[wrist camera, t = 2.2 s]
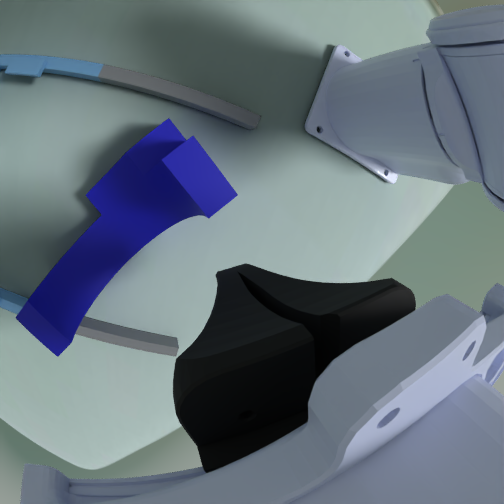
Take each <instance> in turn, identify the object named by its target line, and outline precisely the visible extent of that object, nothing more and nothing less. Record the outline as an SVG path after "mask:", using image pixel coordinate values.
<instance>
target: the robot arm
mask: <svg viewBox="0 0 504 504" xmlns="http://www.w3.org/2000/svg"><path fill="white" fill-rule="evenodd" d="M426 35H427V36H428V37H429V39H430V41H431V42H430V43H426V44H421V45H417V46H413V47H408V48H404V49H401V50H397V51H393V52H389V53H386V54H383V55H379V56H376V57H373V58H370V59H366V60H362V59H360V58H359V57H358V56H356V55H355V54H354V53H352V52H351V51H350V50H348V49H347V48H345V47H344V46H342V45H337V46H335V47H334V49H333V52H332V54H331V57H330V60H329V62H328V65H327V67H326V70H325V73H324V75H323V78H322V81H321V83H320V86H319V88H318V91H317V94H316V96H315V99H314V102H313V104H312V107H311V109H310V112H309V115H308V117H307V120H306V122H305V129H306V131H307V132H308V133H310V134H311V135H313V136H315V137H317V138H319V139H320V140H322V141H324V142H326V143H327V144H329V145H331V146H332V147H334V148H336V149H338V150H339V151H341V152H343V153H344V154H346V155H347V156H349V157H351V158H352V159H354V160H355V161H357V162H359V163H360V164H362V165H363V166H365V167H366V168H368V169H369V170H371V171H372V172H374V173H375V174H377V175H378V176H380V177H381V178H382V179H384V180H385V181H387V182H388V183H390V184H394V183H395V182H396V180H397V177H398V174H401V175H406V176H412V177H418V178H423V179H428V180H433V181H438V182H442V183H447V184H462V183H465V182H468V181H474V182H479V183H482V187H483V190H484V192H485V194H486V196H487V198H488V199H489V200H490V201H491V202H492V203H493V204H494V205H495V206H496V207H497V208H498V209H500V210H501V211H503V212H504V5H488V6H480V7H474V8H468V9H463V10H459V11H454V12H451V13H448V14H444V15H441V16H438V17H435V18H433V19H431V20H430V24H429V29H428V30H427V31H426ZM344 53H346V55H347V56H346V55H345V54H344ZM317 127H319V128H320V132H319V133H318V132H317V130H316V129H317ZM384 171H385V174H384ZM216 278H217V282H218V286H217V294H216V299H215V303H214V307H213V310H212V312H211V315H210V317H209V319H208V321H207V323H206V325H205V327H204V329H203V331H202V332H201V334H200V335H199V336H198V338H197V339H196V340H195V341H194V342H193V343H192V345H191V346H190V347H188V348H187V349H186V350H185V351H184V352H183V353H182V354H181V355H180V356H179V357H178V358H177V359H176V363H175V369H174V379H173V397H174V404H175V410H176V415H177V417H178V419H179V422H180V423H181V425H182V426H183V428H184V429H185V430H186V432H187V433H188V435H189V436H190V437H191V439H192V440H193V441H194V443H195V444H196V445H197V447H198V451H199V455H200V459H201V462H202V465H203V466H202V467H198V468H194V469H188V470H183V471H178V472H172V473H166V474H159V475H151V476H143V477H132V478H117V479H69V478H67V477H66V476H65V475H64V474H63V473H62V472H60V471H59V470H57V469H55V468H53V467H50V466H46V465H36V464H25V465H24V471H23V479H22V489H21V503H20V504H504V396H503V395H502V394H501V393H500V392H498V391H497V390H496V389H495V388H494V387H492V386H493V385H494V383H495V382H496V380H497V379H498V377H499V376H500V374H501V373H502V372H503V370H504V286H502V285H500V284H498V283H496V284H495V285H494V286H493V287H492V288H491V289H490V290H489V291H488V293H487V294H486V296H485V298H484V301H483V305H482V310H481V311H480V312H477V311H476V310H474V309H473V308H471V307H469V306H467V305H466V304H464V303H462V302H461V301H459V300H457V299H456V298H454V297H452V296H450V295H449V294H445V295H442V296H438V297H436V298H433V299H432V300H430V301H429V302H427V303H426V304H424V305H423V306H421V307H419V308H418V309H416V310H415V307H416V302H415V297H414V294H413V292H412V291H411V290H410V289H409V288H407V287H406V286H404V285H402V284H401V283H399V282H398V281H396V280H394V279H392V278H390V279H383V280H376V281H370V282H359V283H322V282H313V281H306V280H300V279H295V278H291V277H287V276H283V275H279V274H276V273H273V272H270V271H267V270H264V269H261V268H258V267H255V266H253V265H250V264H242V265H239V266H236V267H232V268H229V269H225V270H222V271H218V272H217V274H216Z"/></svg>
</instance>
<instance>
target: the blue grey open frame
mask: <svg viewBox="0 0 504 504" xmlns="http://www.w3.org/2000/svg"><path fill="white" fill-rule="evenodd" d="M2 69H6V71H5V73H6V74H9V75H22V76H33V77H41V74H42V72H44V73H52V74H59V75H66V76H72V77H78V78H84V79H89V80H94V81H99V82H103V83H108V84H112V85H117V86H121V87H125V88H129V89H133V90H136V91H140V92H144V93H147V94H151V95H154V96H158V97H161V98H164V99H167V100H171V101H174V102H177V103H180V104H183V105H186V106H189V107H192V108H195V109H197V110H200V111H203V112H206V113H208V114H211V115H214V116H216V117H219V118H222V119H224V120H227V121H229V122H232V123H234V124H237V125H239V126H242V127H244V128H246V129H249V130H251V129H254V128H256V127H257V125H258V122H259V120H260V117H261V116H260V115H258V114H255V113H253V112H251V111H249V110H246V109H244V108H242V107H239V106H237V105H234V104H232V103H229V102H227V101H224V100H222V99H219V98H217V97H214V96H211V95H209V94H206V93H203V92H201V91H198V90H195V89H192V88H189V87H186V86H183V85H180V84H177V83H174V82H171V81H167V80H164V79H161V78H157V77H154V76H150V75H146V74H143V73H139V72H135V71H131V70H127V69H122V68H118V67H113V66H109V65H104V64H99V63H93V62H87V61H81V60H75V59H67V58H59V57H49V56H37V55H15V54H0V72H1V70H2ZM27 301H28V298H26V297H23V296H20V295H18V294H15V293H13V292H10V291H8V290H5V289H3V288H0V307H1V308H4V309H6V310H8V311H11V312H13V313H16V314H18V313H19V312H20V310H21V309H22V308H23V306H24V305H25V303H26V302H27ZM75 334H78V335H81V336H85V337H88V338H92V339H96V340H99V341H103V342H107V343H111V344H116V345H120V346H124V347H129V348H133V349H138V350H143V351H148V352H153V353H159V354H164V355H170V356H176V355H177V352H178V349H179V347H178V341H177V338H174V337H169V336H164V335H158V334H154V333H149V332H144V331H139V330H135V329H131V328H126V327H122V326H118V325H114V324H110V323H106V322H102V321H98V320H95V319H91V318H88V317H83V319H82V321H81V323H80V325H79V327H78V329H77V331H76V333H75Z"/></svg>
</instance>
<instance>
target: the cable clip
mask: <svg viewBox="0 0 504 504" xmlns="http://www.w3.org/2000/svg"><path fill="white" fill-rule="evenodd" d="M237 195H238V194H237V193H236V192H235V190H234V189H233V188H232V186H231V185H230V184H229V182H228V181H227V180H226V178H225V177H224V176H223V174H222V173H221V172H220V170H219V169H218V168H217V166H216V165H215V164H214V162H213V161H212V160H211V158H210V157H209V156H208V154H207V153H206V152H205V150H204V149H203V148H202V146H201V145H200V144H199V143H198V141H197V140H196V139H195V137H194V136H192V137H191V138H189V139H188V140H187V141H186V139H185V138H184V137H183V136H182V134H181V133H180V132H179V130H178V129H177V128H176V127H175V125H174V124H173V123H172V121H171V120H170V119H169V118H168V119H167V120H166V121H164V122H163V123H162V124H160V125H159V126H158V127H157V128H155V129H154V130H153V131H151V132H150V133H149V134H148V135H146V136H145V137H144V138H143V139H141V140H140V141H139V142H138V143H137V144H135V145H134V146H133V147H132V148H131V149H130V150H128V151H127V152H126V153H125V154H124V155H123V156H122V157H121V159H120V160H119V161H118V162H117V163H116V164H115V165H114V166H113V167H112V168H111V169H110V170H109V171H108V172H107V173H106V174H105V175H104V177H103V178H102V179H101V180H100V181H99V182H98V183H97V184H96V185H95V186H94V187H93V188H92V189H91V190H90V191H89V192H88V193H87V194H86V196H87V198H88V199H89V200H90V201H91V203H92V204H93V205H94V206H95V207H96V209H97V210H98V211H99V212H100V213H101V216H100V217H99V218H98V219H97V220H96V221H95V222H94V223H93V224H92V225H91V226H90V227H89V228H88V229H87V230H86V232H85V233H84V234H83V235H82V236H81V237H80V238H79V239H78V240H77V241H76V242H75V243H74V244H73V246H72V247H71V248H70V249H69V250H68V251H67V252H66V253H65V255H64V256H63V257H62V258H61V259H60V260H59V262H58V263H57V264H56V265H55V266H54V267H53V269H52V270H51V271H50V272H49V274H48V275H47V276H46V277H45V278H44V280H43V281H42V282H41V284H40V285H39V286H38V287H37V289H36V290H35V291H34V293H33V294H32V295H31V296H30V298H29V299H28V301H27V302H26V303H25V305H24V306H23V308H22V309H21V310H20V312H19V313H18V315H17V316H16V319H17V320H18V321H19V322H20V323H21V324H22V325H23V326H24V327H25V328H26V329H27V330H28V331H29V332H30V333H31V334H33V335H34V336H35V337H36V338H37V339H38V340H39V341H40V342H41V343H42V344H43V345H45V346H46V347H47V348H48V349H49V350H50V351H52V352H53V353H54V354H55V355H56V356H59V355H60V354H61V353H62V352H63V351H64V350H65V349H66V348H67V347H68V346H69V345H70V344H71V343H72V340H73V338H74V335H75V333H76V331H77V329H78V327H79V325H80V323H81V321H82V319H83V317H84V316H85V314H86V312H87V311H88V309H89V308H90V306H91V305H92V303H93V302H94V300H95V299H96V298H97V296H98V295H99V294H100V292H101V291H102V290H103V288H104V287H105V286H106V285H107V283H108V282H109V281H110V280H111V279H112V277H113V276H114V275H115V274H116V273H117V272H118V271H119V270H120V269H121V268H122V267H123V266H124V264H125V263H126V262H127V261H128V260H129V259H131V258H132V257H133V256H134V255H135V254H136V253H137V252H138V251H139V250H140V249H141V248H143V247H144V246H145V245H146V244H147V243H149V242H150V241H151V240H152V239H154V238H155V237H156V236H158V235H159V234H160V233H162V232H163V231H165V230H166V229H168V228H169V227H171V226H173V225H174V224H176V223H178V222H180V221H182V220H184V219H187V218H189V217H193V216H197V215H203V216H206V217H207V218H210V217H211V216H212V215H214V214H215V213H216V212H217V211H219V210H220V209H221V208H222V207H224V206H225V205H226V204H227V203H229V202H230V201H231V200H232V199H234V198H235V197H236V196H237Z"/></svg>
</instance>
